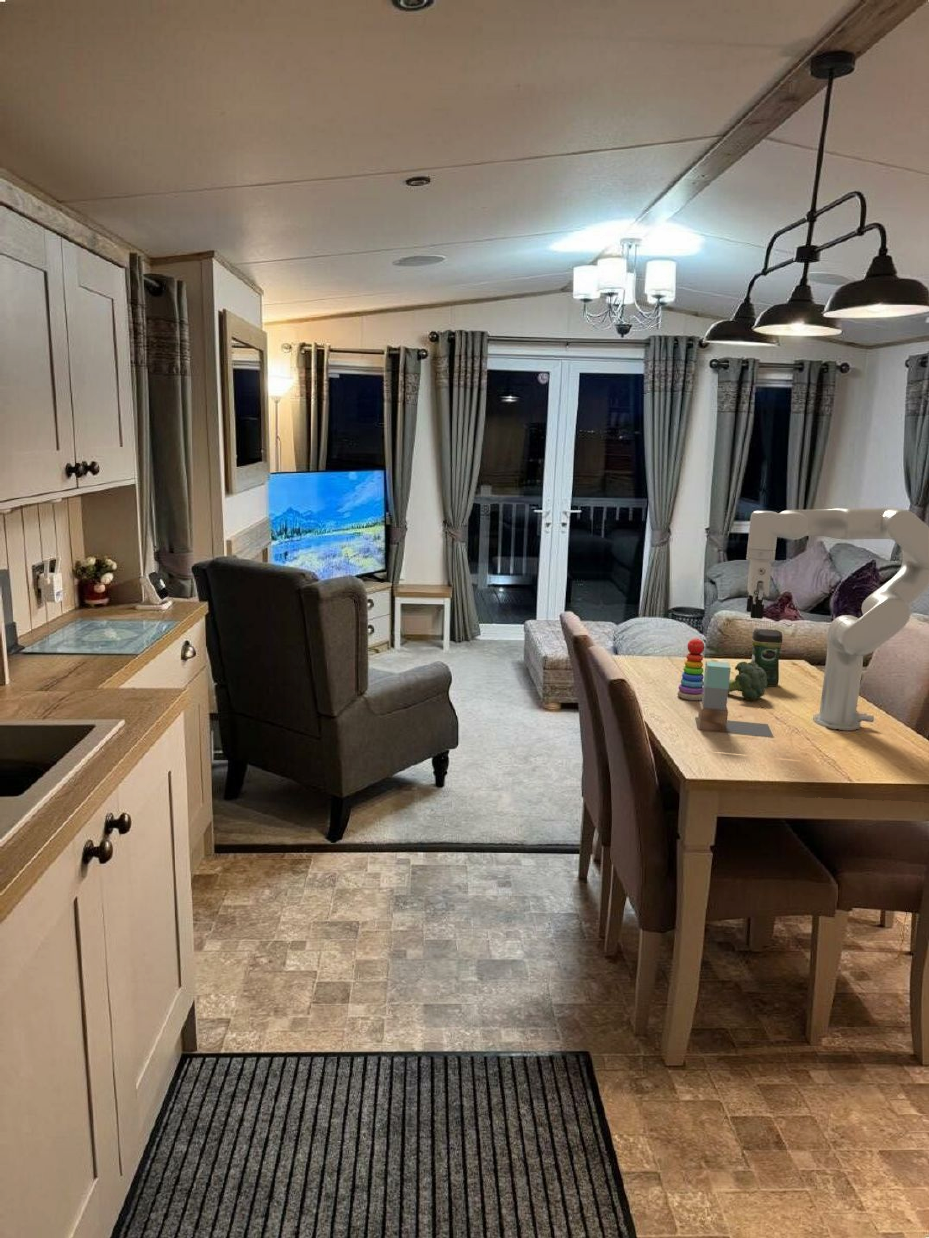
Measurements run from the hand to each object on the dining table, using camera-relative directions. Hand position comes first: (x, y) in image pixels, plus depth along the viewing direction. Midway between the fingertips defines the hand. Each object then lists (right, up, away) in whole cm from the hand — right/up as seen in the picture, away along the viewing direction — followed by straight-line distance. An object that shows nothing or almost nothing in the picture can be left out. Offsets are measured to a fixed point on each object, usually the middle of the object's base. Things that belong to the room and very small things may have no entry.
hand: (754, 615), depth 244 cm
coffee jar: (+18, -23, +44) cm, 53 cm away
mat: (-8, -32, -5) cm, 33 cm away
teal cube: (-13, -19, -8) cm, 25 cm away
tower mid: (-14, -25, -7) cm, 29 cm away
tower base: (-14, -31, -6) cm, 34 cm away
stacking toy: (-12, -26, +24) cm, 37 cm away
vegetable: (+5, -26, +27) cm, 38 cm away
